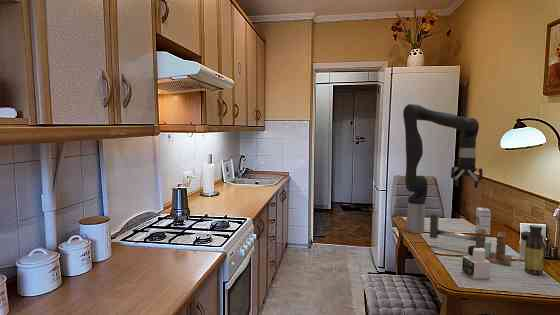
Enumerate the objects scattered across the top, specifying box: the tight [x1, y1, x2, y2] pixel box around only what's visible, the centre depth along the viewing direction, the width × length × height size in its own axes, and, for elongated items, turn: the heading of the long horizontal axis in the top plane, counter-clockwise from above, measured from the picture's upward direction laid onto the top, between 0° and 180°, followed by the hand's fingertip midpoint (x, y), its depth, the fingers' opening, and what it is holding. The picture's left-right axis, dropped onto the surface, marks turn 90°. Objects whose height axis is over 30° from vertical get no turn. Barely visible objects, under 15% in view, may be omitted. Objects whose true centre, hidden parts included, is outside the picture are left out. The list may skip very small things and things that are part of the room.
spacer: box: [484, 237, 492, 258], centre depth 151 cm, size 2×7×7 cm, turn 142°
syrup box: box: [475, 207, 492, 236], centre depth 186 cm, size 6×6×14 cm
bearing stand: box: [475, 229, 512, 267], centre depth 150 cm, size 16×12×12 cm
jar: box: [519, 231, 544, 262], centre depth 148 cm, size 9×8×12 cm
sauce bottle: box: [524, 224, 545, 275], centre depth 134 cm, size 6×6×20 cm
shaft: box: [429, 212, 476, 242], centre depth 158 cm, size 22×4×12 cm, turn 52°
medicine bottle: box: [461, 244, 491, 280], centre depth 132 cm, size 7×7×12 cm
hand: (465, 187), depth 168 cm, fingers open, 8 cm apart
